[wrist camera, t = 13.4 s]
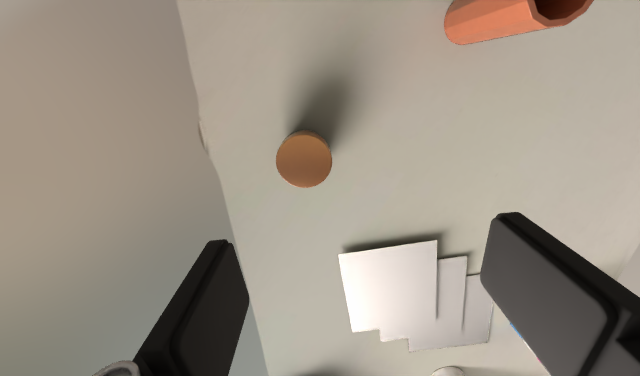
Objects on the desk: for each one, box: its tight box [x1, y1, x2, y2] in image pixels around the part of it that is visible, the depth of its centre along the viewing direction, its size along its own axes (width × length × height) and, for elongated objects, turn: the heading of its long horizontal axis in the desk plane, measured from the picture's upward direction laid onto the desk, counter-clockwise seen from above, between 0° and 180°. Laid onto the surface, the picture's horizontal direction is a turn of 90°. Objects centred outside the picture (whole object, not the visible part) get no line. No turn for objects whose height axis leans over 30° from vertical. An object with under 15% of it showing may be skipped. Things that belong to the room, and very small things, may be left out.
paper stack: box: [338, 240, 493, 352], centre depth 40 cm, size 23×25×1 cm
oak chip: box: [276, 131, 332, 188], centre depth 28 cm, size 6×6×2 cm
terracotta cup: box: [444, 0, 594, 45], centre depth 20 cm, size 4×4×11 cm
